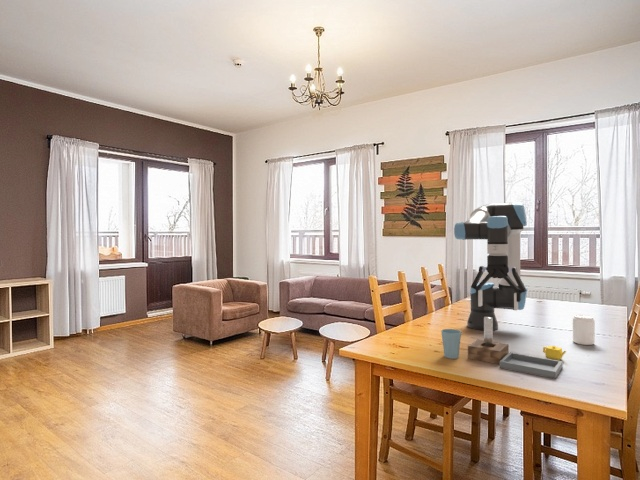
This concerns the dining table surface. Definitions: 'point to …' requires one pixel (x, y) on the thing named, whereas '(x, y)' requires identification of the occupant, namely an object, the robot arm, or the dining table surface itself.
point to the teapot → (553, 352)
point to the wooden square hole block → (487, 351)
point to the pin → (488, 331)
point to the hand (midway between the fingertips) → (497, 308)
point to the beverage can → (583, 329)
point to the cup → (451, 342)
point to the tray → (532, 365)
